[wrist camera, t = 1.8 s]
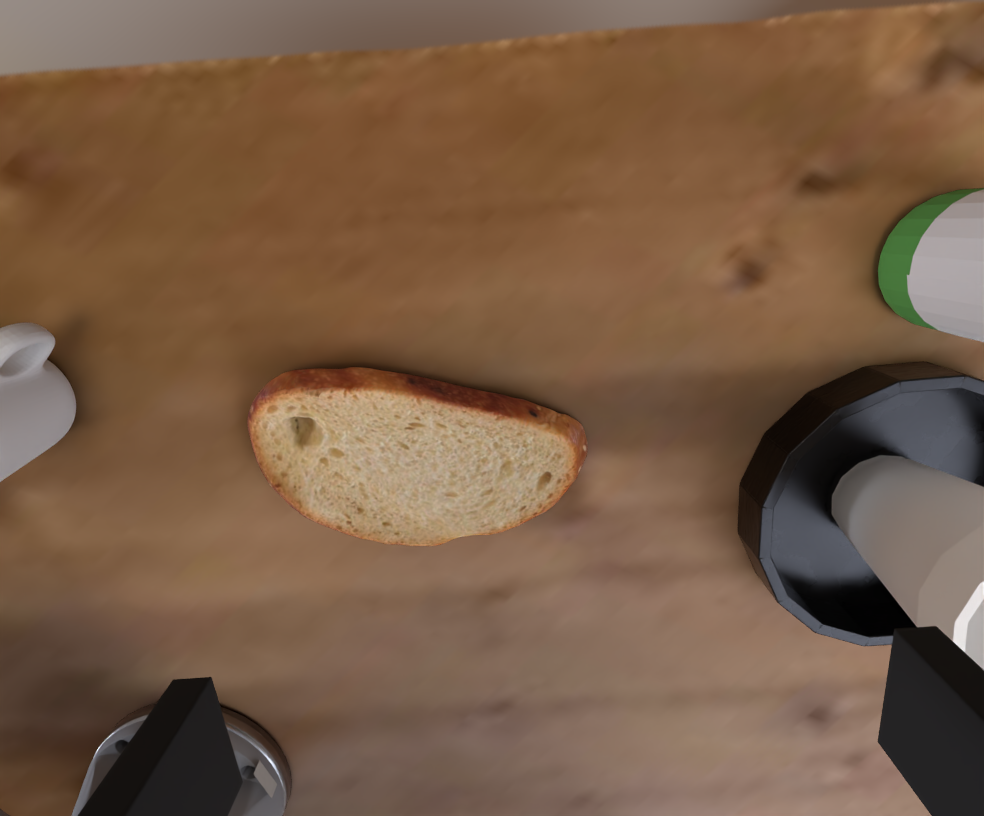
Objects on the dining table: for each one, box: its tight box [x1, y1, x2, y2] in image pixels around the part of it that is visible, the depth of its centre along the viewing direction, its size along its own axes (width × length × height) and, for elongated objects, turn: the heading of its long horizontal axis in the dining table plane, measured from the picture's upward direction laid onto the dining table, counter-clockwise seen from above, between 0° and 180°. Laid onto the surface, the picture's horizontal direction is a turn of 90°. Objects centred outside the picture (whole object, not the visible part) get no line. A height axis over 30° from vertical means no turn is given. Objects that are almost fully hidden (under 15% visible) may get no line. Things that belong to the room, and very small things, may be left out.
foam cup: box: [832, 455, 984, 670], centre depth 33 cm, size 10×9×13 cm
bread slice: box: [247, 367, 588, 546], centre depth 36 cm, size 18×18×4 cm
